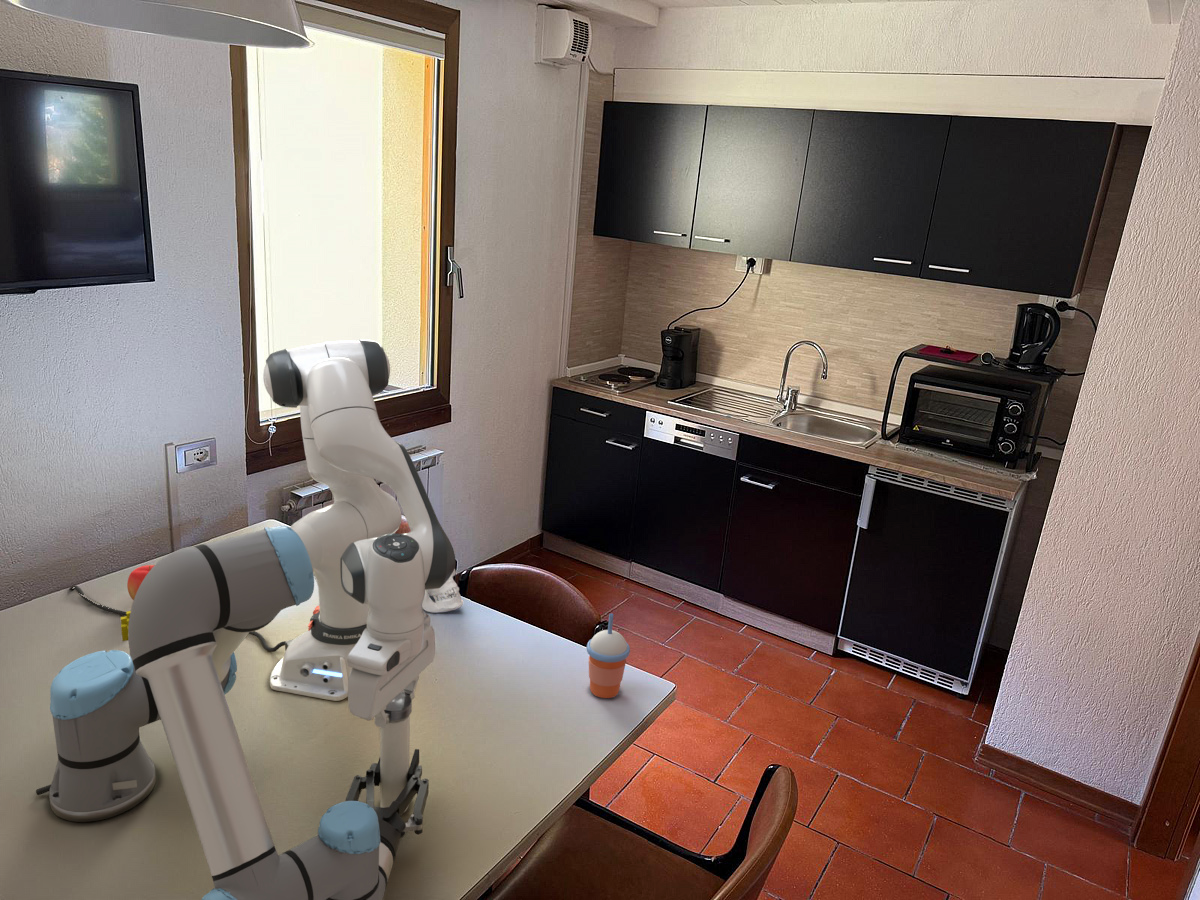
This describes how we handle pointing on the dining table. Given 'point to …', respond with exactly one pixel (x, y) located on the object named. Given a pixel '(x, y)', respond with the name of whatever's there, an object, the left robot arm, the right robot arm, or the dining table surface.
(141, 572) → the apple
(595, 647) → the cup with straw
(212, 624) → the left robot arm
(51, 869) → the dining table surface
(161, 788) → the dining table surface
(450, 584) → the skull
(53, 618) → the dining table surface
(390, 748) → the white cylinder
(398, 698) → the lid
